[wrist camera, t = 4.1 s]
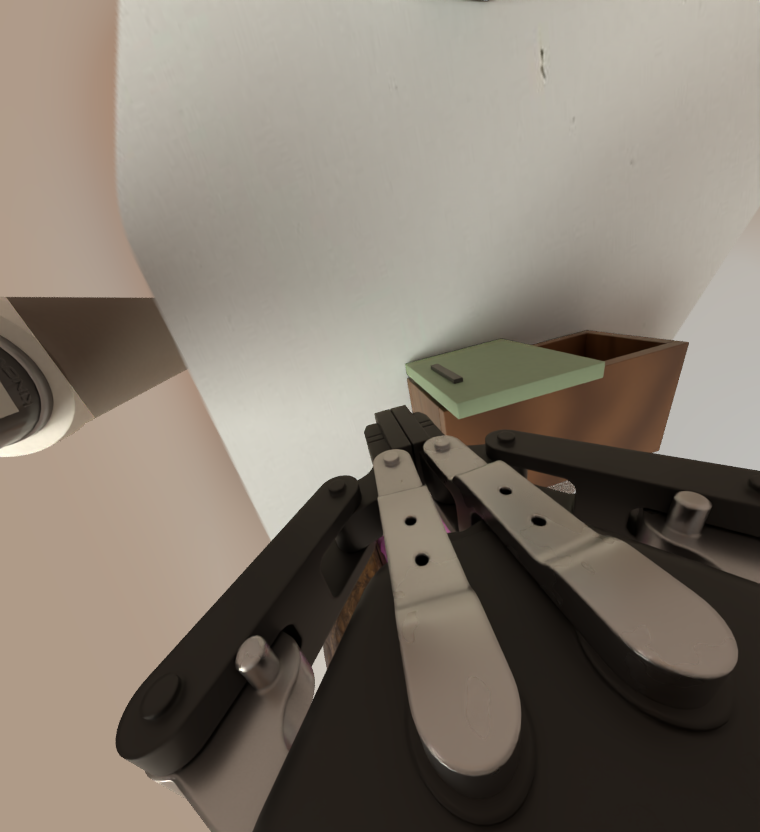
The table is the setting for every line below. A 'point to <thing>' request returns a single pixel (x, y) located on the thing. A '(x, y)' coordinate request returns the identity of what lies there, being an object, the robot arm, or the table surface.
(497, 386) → the door
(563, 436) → the cabinet
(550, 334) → the table surface
